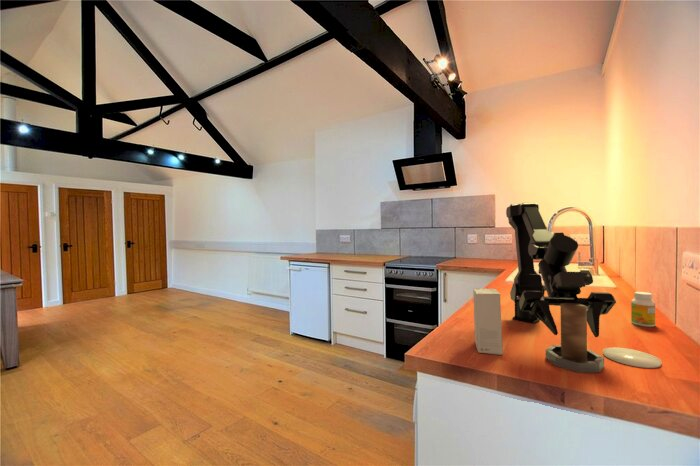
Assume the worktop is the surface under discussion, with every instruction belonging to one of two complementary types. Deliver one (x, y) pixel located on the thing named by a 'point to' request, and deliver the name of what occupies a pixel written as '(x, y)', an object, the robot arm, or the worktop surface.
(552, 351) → the steel ring
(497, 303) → the skincare box
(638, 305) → the supplement bottle
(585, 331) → the walnut peg
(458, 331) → the worktop surface
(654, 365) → the cream disc
